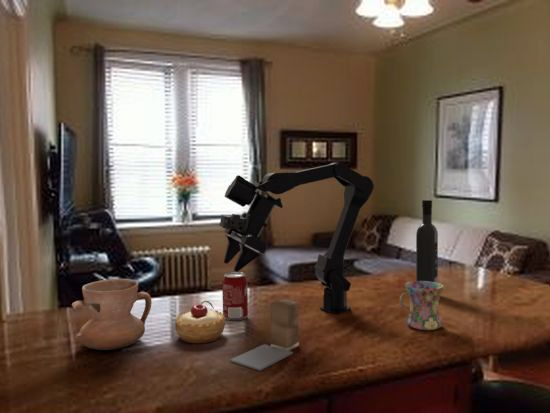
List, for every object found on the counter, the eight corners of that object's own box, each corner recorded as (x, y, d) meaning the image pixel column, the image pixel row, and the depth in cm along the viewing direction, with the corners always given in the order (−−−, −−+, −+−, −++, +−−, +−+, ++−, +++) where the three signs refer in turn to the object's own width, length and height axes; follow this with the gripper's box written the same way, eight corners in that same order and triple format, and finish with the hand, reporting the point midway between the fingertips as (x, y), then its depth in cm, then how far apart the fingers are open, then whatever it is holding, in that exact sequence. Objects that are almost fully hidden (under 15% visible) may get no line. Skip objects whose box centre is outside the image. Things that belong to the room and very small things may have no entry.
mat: (264, 345, 107) (264, 344, 106) (292, 353, 102) (292, 351, 102) (230, 361, 98) (230, 359, 98) (259, 370, 93) (259, 368, 93)
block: (283, 341, 109) (282, 299, 109) (298, 345, 106) (298, 302, 106) (270, 347, 106) (270, 303, 105) (286, 351, 103) (286, 306, 102)
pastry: (182, 329, 120) (181, 294, 119) (228, 328, 119) (227, 294, 119) (170, 346, 108) (168, 308, 107) (221, 345, 107) (220, 307, 107)
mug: (426, 319, 124) (426, 279, 123) (451, 329, 116) (452, 286, 115) (388, 325, 119) (388, 284, 119) (412, 336, 111) (412, 292, 110)
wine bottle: (438, 294, 149) (438, 200, 147) (433, 298, 144) (434, 201, 142) (420, 292, 152) (420, 199, 150) (415, 296, 147) (415, 200, 145)
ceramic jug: (80, 362, 99) (77, 296, 98) (68, 342, 111) (65, 283, 110) (163, 344, 108) (161, 284, 108) (144, 328, 121) (142, 273, 120)
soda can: (244, 322, 124) (243, 277, 123) (219, 321, 125) (218, 276, 125) (250, 315, 131) (249, 272, 130) (227, 314, 132) (226, 271, 131)
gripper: (222, 197, 132) (195, 247, 130) (244, 205, 114) (213, 262, 113) (255, 215, 136) (229, 263, 135) (280, 225, 119) (251, 280, 117)
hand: (230, 267), depth 125 cm, fingers open, 9 cm apart
